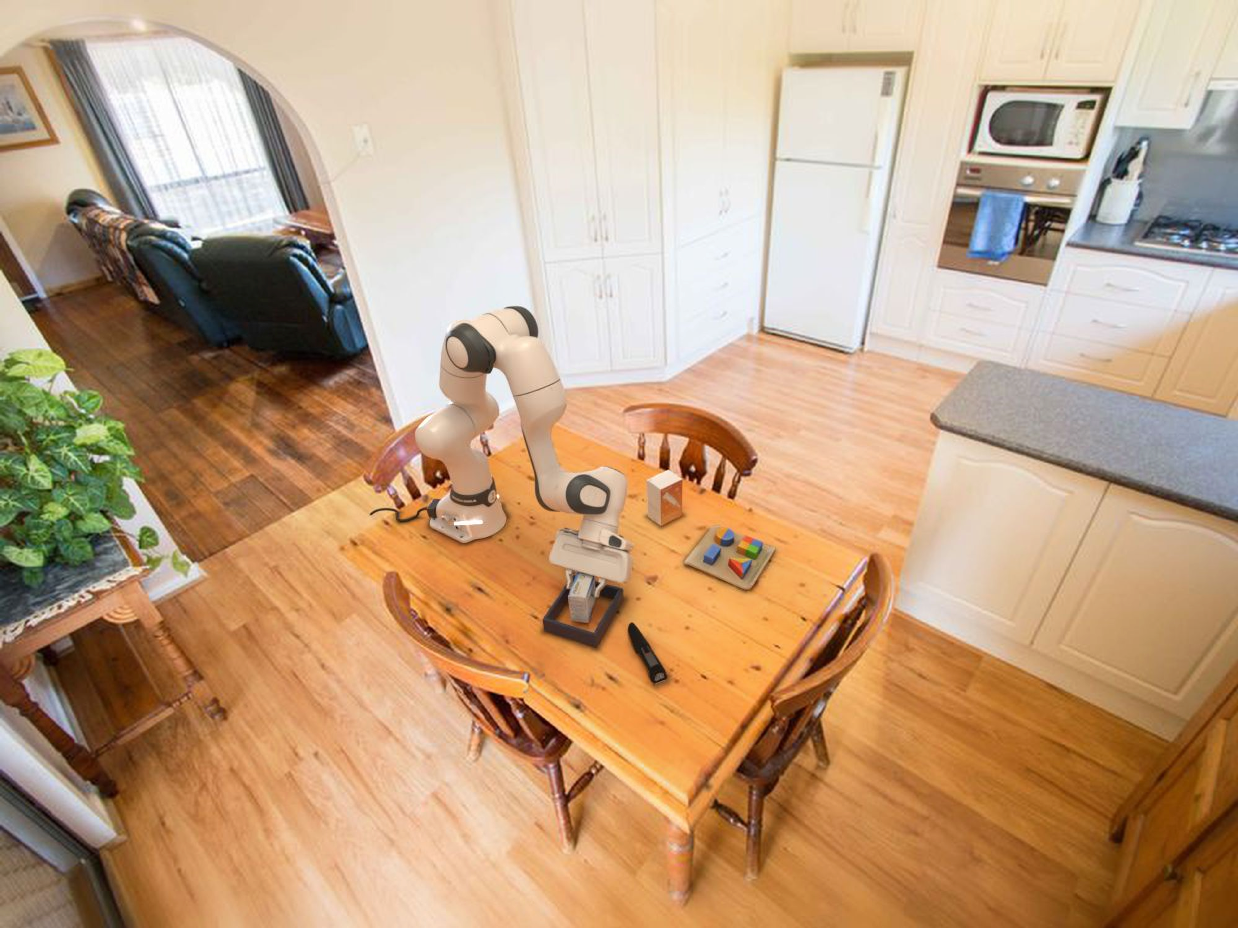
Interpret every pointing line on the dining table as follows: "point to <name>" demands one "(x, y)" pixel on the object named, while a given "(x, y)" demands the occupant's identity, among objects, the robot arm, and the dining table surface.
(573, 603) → the medicine box
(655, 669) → the electric trimmer
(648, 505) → the small box
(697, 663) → the dining table surface
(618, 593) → the dark rectangular frame
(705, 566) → the shape puzzle
